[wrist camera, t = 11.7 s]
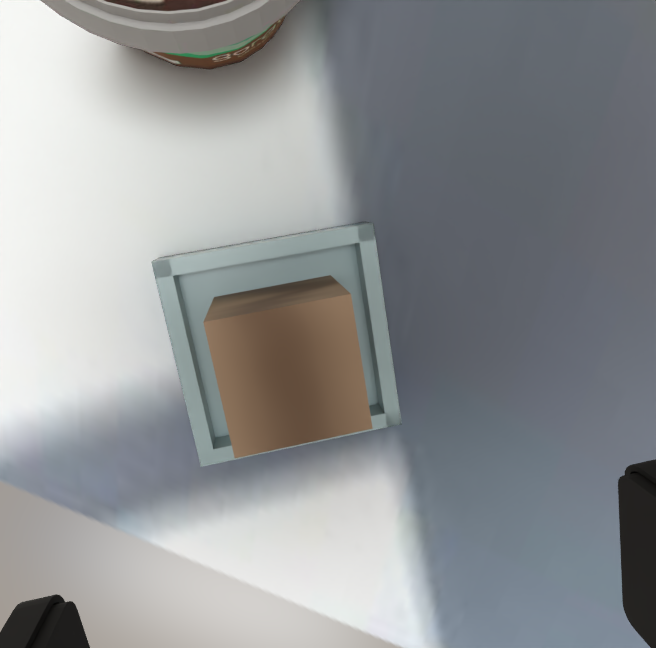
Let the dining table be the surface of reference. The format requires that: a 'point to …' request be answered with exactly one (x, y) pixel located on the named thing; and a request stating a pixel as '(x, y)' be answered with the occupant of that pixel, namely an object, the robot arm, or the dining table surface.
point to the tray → (259, 272)
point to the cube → (287, 365)
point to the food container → (181, 26)
